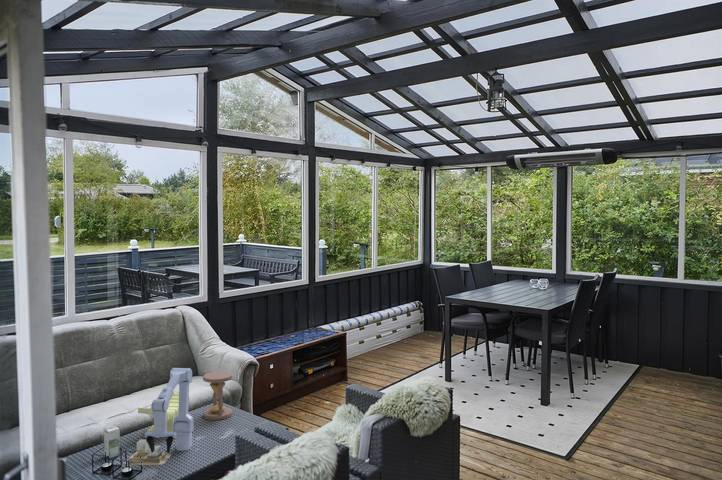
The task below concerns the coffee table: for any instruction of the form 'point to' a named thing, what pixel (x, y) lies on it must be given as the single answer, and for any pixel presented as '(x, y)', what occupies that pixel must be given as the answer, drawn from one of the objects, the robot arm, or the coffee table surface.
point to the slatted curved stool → (171, 412)
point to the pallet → (148, 459)
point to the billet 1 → (142, 445)
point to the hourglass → (217, 385)
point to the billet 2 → (155, 452)
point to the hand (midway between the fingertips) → (160, 451)
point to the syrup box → (112, 441)
